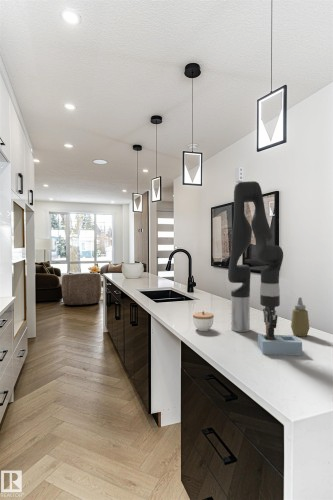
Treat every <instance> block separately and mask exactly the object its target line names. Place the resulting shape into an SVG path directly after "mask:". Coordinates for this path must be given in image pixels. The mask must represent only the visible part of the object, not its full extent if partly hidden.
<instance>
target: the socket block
mask: <svg viewBox="0 0 333 500" xmlns="http://www.w3.org/2000/svg"><path fill="white" fill-rule="evenodd" d="M297 337H298V336H296V335H294V334H293V335H292V334H291V335H289V334H286V335H285V334H283V335H282V334H274V340H266V334H257V347H258V349H259V350H260V352H261V354H262V355H277V356H278V355H281V356H282V355H283V356H284V355H286V356H303V342H302V341H301V340H300V339H299V338H297Z"/></svg>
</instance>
